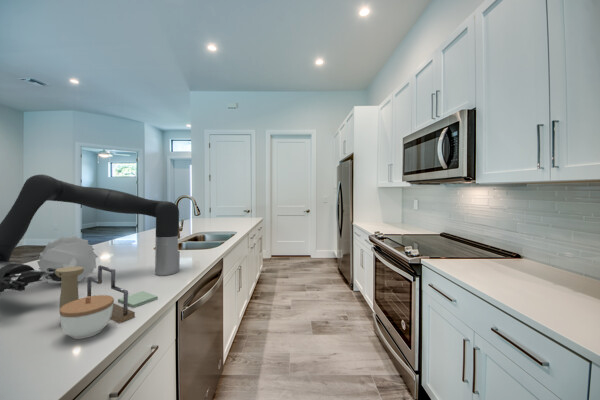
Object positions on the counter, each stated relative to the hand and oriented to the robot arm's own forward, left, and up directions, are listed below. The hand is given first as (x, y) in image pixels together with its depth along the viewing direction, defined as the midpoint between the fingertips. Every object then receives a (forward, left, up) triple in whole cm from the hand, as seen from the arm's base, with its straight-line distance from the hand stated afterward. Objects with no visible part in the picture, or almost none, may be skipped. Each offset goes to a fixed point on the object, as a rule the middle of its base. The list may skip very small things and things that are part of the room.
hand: (43, 282), depth 72 cm
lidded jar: (-2, +22, -10) cm, 24 cm away
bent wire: (-11, +12, -10) cm, 19 cm away
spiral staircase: (-17, -34, -10) cm, 39 cm away
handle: (-2, +11, -10) cm, 15 cm away
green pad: (-20, +13, -10) cm, 26 cm away
